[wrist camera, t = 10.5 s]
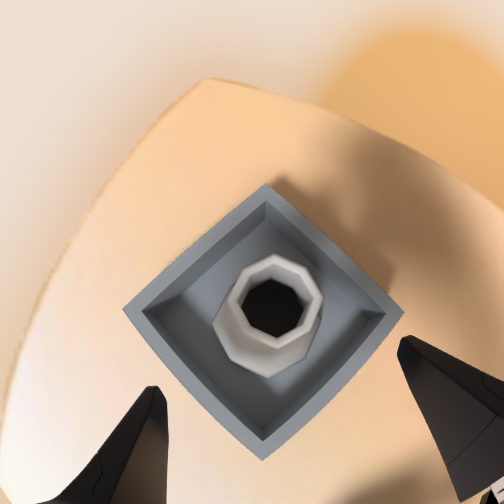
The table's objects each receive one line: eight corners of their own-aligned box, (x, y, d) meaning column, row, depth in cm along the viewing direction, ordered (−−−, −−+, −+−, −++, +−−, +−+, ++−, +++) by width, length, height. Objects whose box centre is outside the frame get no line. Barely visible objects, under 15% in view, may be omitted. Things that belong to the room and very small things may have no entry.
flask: (267, 396, 17) (279, 442, 8) (193, 324, 19) (135, 299, 9) (337, 320, 19) (406, 291, 9) (264, 254, 21) (269, 174, 11)
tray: (261, 441, 17) (262, 460, 13) (144, 316, 20) (122, 309, 16) (380, 319, 20) (404, 312, 16) (264, 209, 23) (265, 183, 19)
